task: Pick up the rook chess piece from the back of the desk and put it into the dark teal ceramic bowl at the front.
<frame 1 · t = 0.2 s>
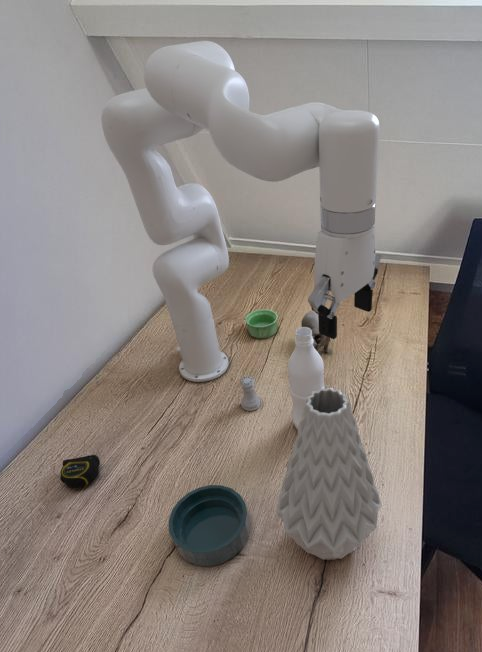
hand: (345, 321, 74), 31 cm above the table, tool pointing down, fingers open, 9 cm apart
ramekin: (263, 331, 128), on the table
rhinoceros figurine: (314, 352, 120), on the table
water bottle: (309, 426, 100), on the table
tape measure: (82, 476, 93), on the table
bowl: (213, 532, 82), on the table
vase: (328, 538, 80), on the table
rook chess piece: (251, 405, 106), on the table
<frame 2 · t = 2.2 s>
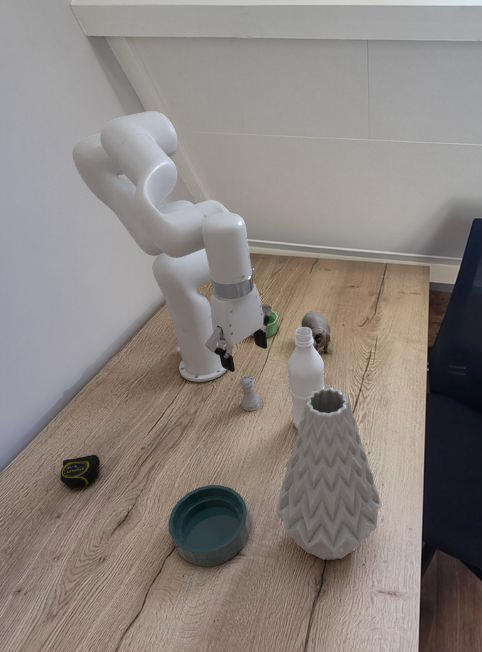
hand: (245, 357, 96), 14 cm above the table, tool pointing down, fingers open, 9 cm apart
nothing on the table moved.
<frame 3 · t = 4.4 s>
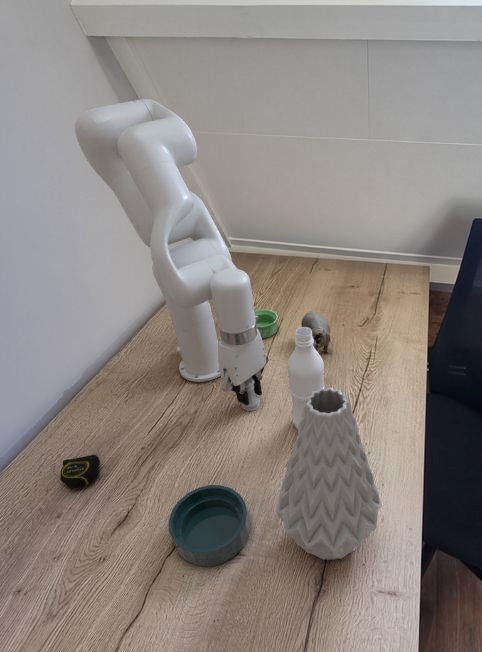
hand: (249, 396, 104), 3 cm above the table, tool pointing down, fingers closed on rook chess piece, 3 cm apart
rook chess piece: (251, 405, 106), on the table, touching gripper
everything else where it was.
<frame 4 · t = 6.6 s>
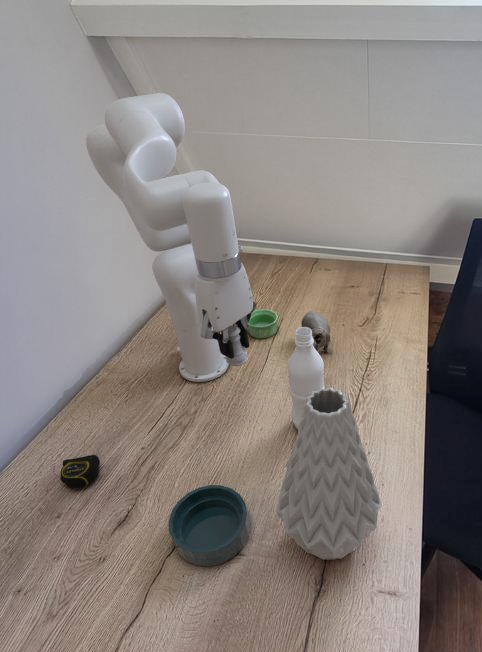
hand: (235, 349, 89), 19 cm above the table, tool pointing down, fingers closed on rook chess piece, 3 cm apart
rook chess piece: (237, 361, 91), point 16 cm above the table, touching gripper
everything else where it was.
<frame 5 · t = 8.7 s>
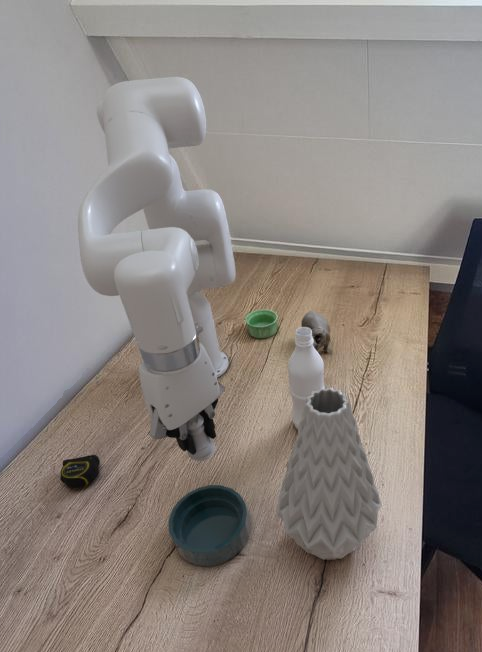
hand: (198, 441, 72), 19 cm above the table, tool pointing down, fingers closed on rook chess piece, 3 cm apart
rook chess piece: (202, 452, 74), point 17 cm above the table, touching gripper
everything else where it was.
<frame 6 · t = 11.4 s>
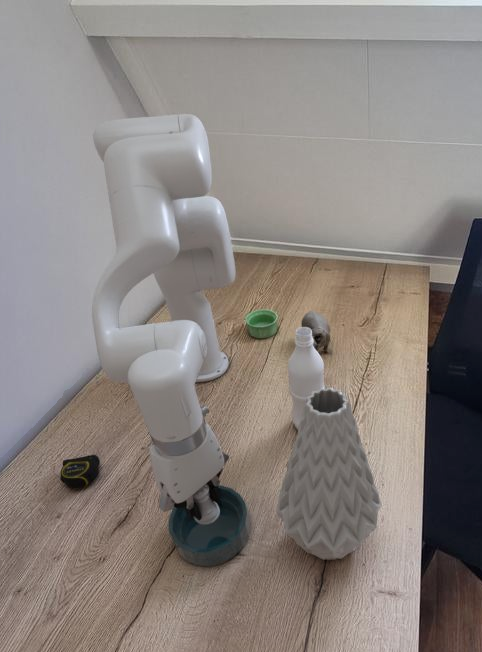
hand: (204, 505, 76), 8 cm above the table, tool pointing down, fingers closed on rook chess piece, 3 cm apart
rook chess piece: (207, 515, 78), point 5 cm above the table, touching gripper
everything else where it was.
when the fingers open (3 cm above the table, at t = 13.1 s): rook chess piece stays where it is, resting on bowl.
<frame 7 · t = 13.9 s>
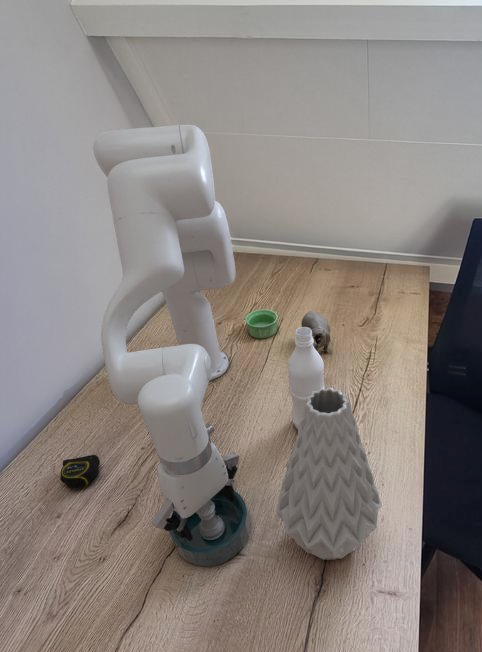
hand: (207, 515, 78), 5 cm above the table, tool pointing down, fingers open, 9 cm apart
rook chess piece: (213, 530, 81), resting on bowl
everything else where it was.
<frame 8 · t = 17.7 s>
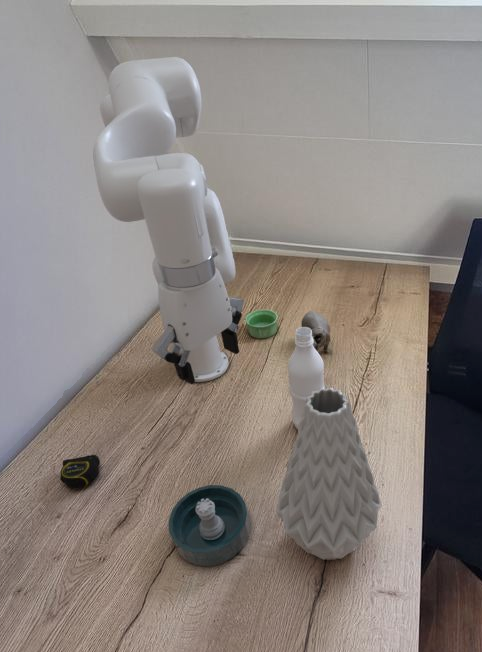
hand: (210, 364, 75), 26 cm above the table, tool pointing down, fingers open, 9 cm apart
nothing on the table moved.
at the end: rook chess piece inside the target area in the bowl (0.1 cm from its centre), point 0.3 cm above the bowl's base; the gripper is holding nothing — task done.
